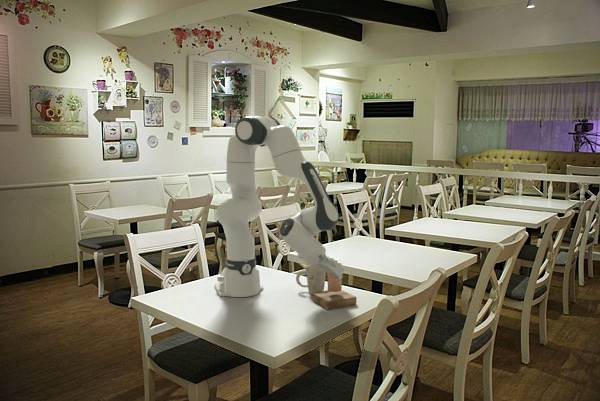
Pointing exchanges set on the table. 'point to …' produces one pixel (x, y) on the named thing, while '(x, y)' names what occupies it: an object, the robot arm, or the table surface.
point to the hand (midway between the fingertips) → (336, 275)
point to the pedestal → (334, 299)
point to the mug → (313, 279)
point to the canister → (334, 283)
